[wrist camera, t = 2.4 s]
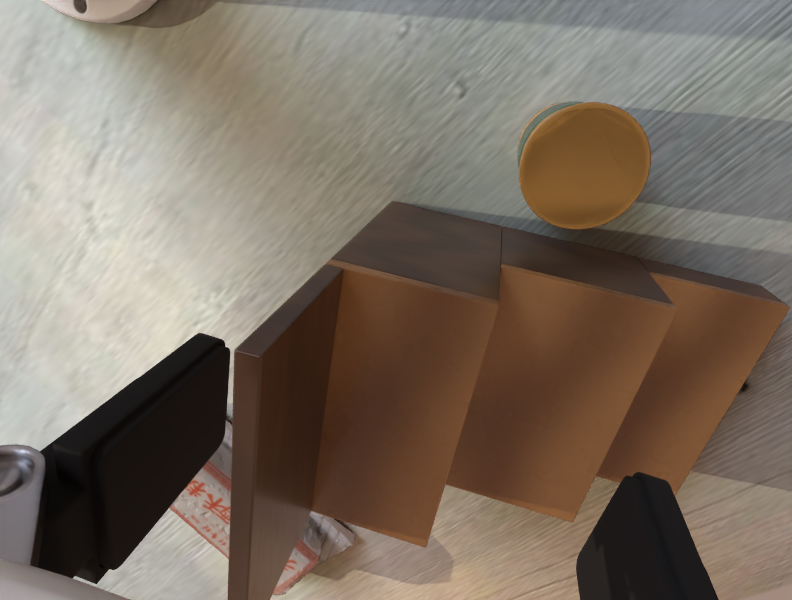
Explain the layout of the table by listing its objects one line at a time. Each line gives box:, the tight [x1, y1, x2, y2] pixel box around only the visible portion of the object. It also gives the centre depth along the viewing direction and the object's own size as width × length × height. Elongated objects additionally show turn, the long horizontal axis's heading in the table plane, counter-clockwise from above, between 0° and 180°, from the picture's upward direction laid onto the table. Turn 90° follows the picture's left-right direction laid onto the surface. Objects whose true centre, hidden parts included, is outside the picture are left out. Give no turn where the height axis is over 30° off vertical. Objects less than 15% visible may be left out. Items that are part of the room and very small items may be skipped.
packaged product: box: [169, 420, 355, 595], centre depth 41 cm, size 18×5×10 cm
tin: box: [517, 102, 651, 230], centre depth 22 cm, size 5×5×8 cm
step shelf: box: [228, 201, 790, 600], centre depth 22 cm, size 22×14×19 cm, turn 79°
